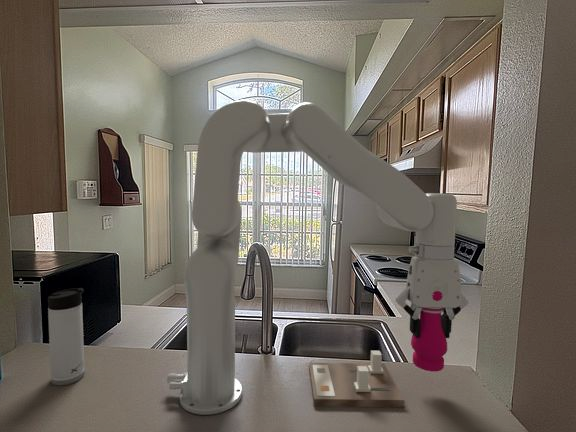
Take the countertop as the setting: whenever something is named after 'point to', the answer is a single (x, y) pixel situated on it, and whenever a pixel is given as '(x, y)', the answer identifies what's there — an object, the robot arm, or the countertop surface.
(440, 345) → the pepper mill
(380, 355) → the tab
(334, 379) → the switch board
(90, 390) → the countertop surface
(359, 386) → the tab
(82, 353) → the travel mug
